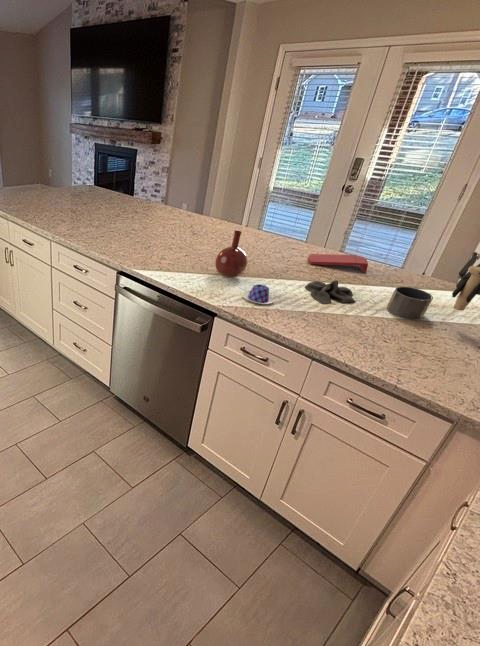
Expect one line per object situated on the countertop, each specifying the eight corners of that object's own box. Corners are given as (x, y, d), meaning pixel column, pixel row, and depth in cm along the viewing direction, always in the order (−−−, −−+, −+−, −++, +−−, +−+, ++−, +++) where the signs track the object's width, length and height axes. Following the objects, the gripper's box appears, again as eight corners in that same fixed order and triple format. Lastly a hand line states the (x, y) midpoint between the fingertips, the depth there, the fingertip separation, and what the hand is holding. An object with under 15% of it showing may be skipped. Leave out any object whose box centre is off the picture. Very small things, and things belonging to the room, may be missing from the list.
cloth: (303, 281, 182) (308, 267, 178) (350, 288, 177) (355, 275, 173) (306, 301, 164) (311, 287, 161) (358, 310, 159) (364, 295, 156)
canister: (427, 314, 159) (437, 295, 154) (416, 322, 152) (426, 303, 148) (393, 302, 166) (402, 284, 162) (381, 310, 160) (389, 291, 155)
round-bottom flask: (232, 269, 190) (242, 226, 179) (249, 281, 179) (261, 235, 168) (207, 272, 186) (215, 228, 175) (223, 284, 175) (233, 237, 165)
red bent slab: (306, 271, 202) (366, 273, 192) (308, 261, 199) (369, 263, 189) (307, 263, 211) (364, 265, 201) (308, 253, 209) (366, 255, 198)
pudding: (245, 290, 171) (248, 278, 168) (275, 296, 167) (279, 284, 164) (240, 301, 162) (243, 288, 159) (271, 308, 158) (275, 295, 155)
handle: (448, 303, 151) (470, 264, 143) (469, 309, 147) (493, 270, 139) (446, 308, 148) (469, 268, 139) (469, 314, 144) (493, 273, 136)
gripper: (538, 259, 138) (488, 313, 139) (480, 244, 150) (434, 294, 152) (542, 245, 132) (489, 301, 134) (481, 231, 145) (434, 282, 147)
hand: (460, 297), depth 143 cm, fingers closed on handle, 4 cm apart
